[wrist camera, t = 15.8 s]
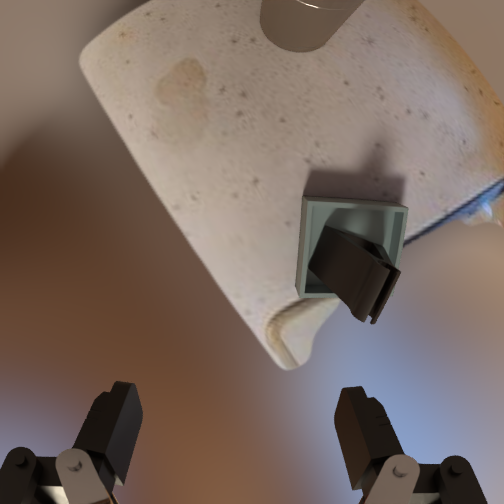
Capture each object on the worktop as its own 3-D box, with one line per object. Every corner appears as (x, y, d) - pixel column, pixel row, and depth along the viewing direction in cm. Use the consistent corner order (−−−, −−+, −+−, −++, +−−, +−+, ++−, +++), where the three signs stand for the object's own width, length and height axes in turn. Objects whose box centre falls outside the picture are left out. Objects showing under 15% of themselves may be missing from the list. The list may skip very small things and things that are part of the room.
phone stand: (382, 246, 40) (426, 283, 29) (364, 285, 42) (400, 331, 31) (324, 224, 39) (355, 257, 28) (307, 266, 41) (329, 313, 29)
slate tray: (302, 195, 39) (307, 201, 35) (396, 202, 39) (408, 207, 36) (295, 285, 43) (299, 297, 39) (383, 285, 43) (392, 296, 40)
